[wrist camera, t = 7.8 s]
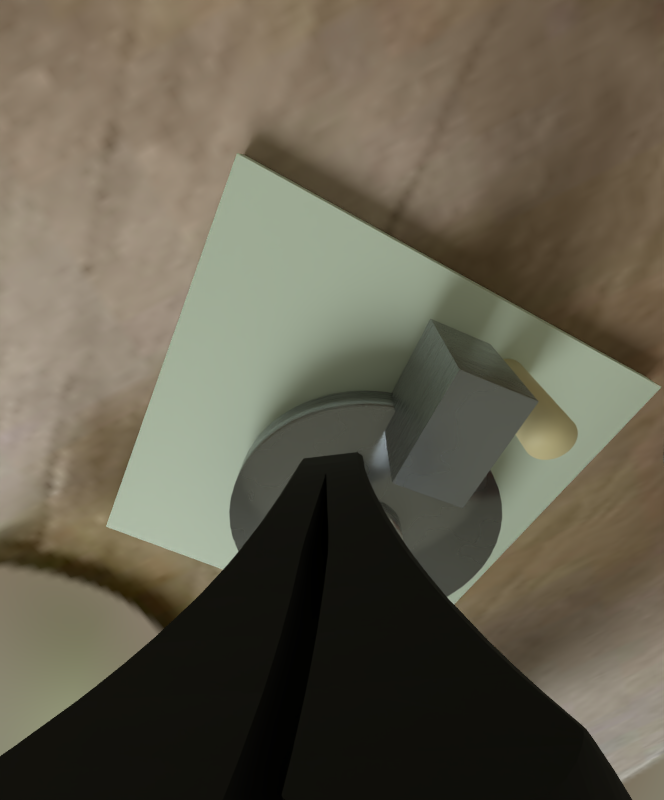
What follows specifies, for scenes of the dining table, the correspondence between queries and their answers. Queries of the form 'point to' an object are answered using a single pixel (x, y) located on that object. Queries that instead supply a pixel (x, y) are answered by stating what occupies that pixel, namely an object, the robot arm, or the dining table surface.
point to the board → (339, 362)
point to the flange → (408, 451)
